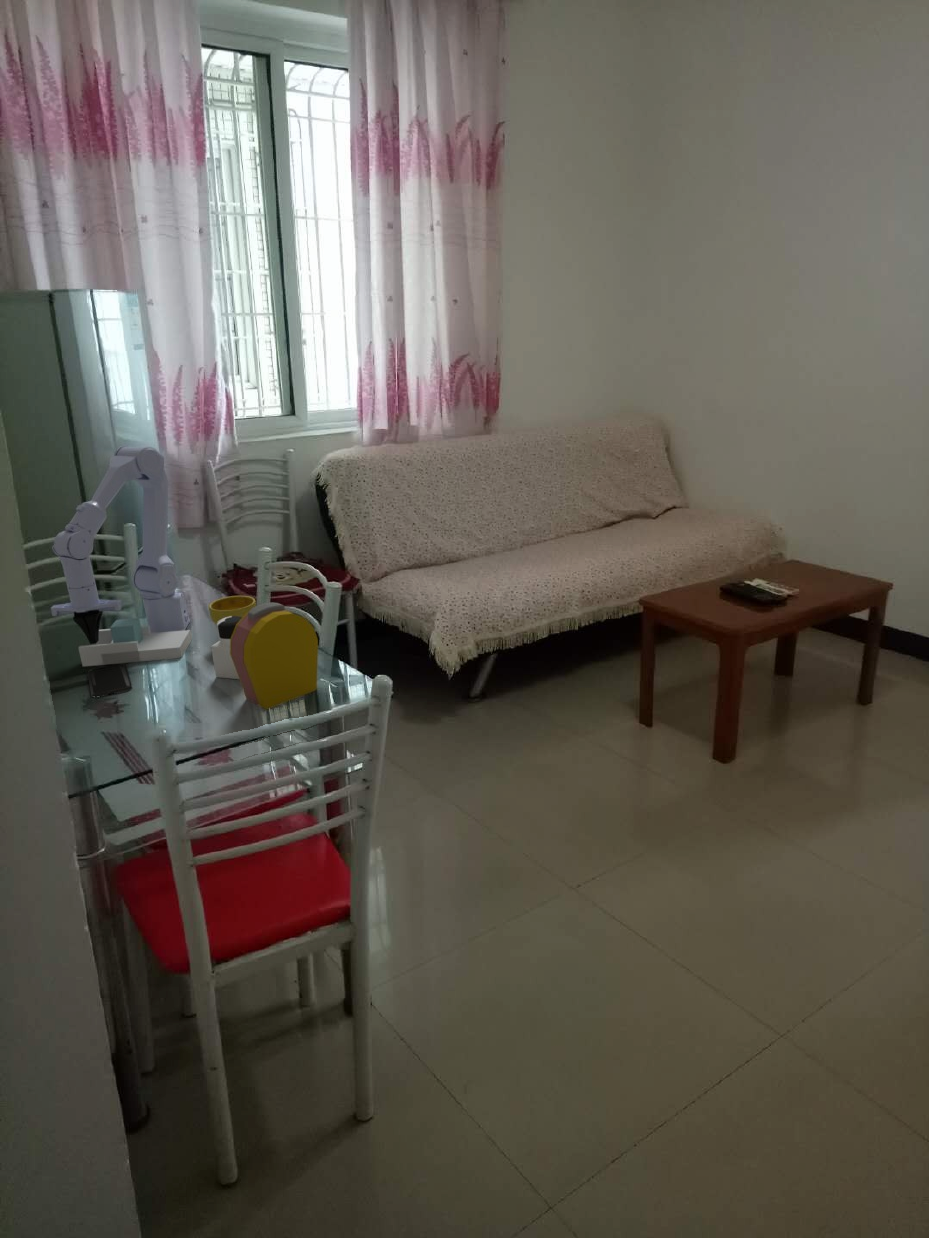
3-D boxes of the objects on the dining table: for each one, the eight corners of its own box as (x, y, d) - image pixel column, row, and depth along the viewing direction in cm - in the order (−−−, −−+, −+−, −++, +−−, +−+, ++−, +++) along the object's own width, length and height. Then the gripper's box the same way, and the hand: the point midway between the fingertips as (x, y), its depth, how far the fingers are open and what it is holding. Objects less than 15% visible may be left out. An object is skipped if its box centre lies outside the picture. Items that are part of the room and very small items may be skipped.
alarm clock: (301, 676, 174) (289, 592, 168) (323, 686, 169) (312, 600, 162) (236, 700, 165) (221, 612, 159) (258, 712, 159) (243, 621, 153)
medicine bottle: (263, 666, 180) (255, 614, 176) (244, 680, 174) (236, 626, 170) (234, 664, 182) (226, 612, 178) (215, 677, 176) (206, 623, 172)
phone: (125, 662, 185) (132, 686, 173) (126, 667, 186) (133, 691, 173) (86, 670, 182) (90, 695, 169) (87, 675, 183) (92, 700, 170)
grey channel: (191, 639, 198) (188, 621, 197) (181, 657, 188) (178, 638, 186) (98, 648, 197) (94, 630, 195) (82, 666, 186) (78, 647, 185)
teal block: (143, 638, 194) (138, 617, 192) (137, 646, 189) (133, 625, 187) (120, 640, 194) (116, 619, 192) (114, 648, 189) (109, 627, 187)
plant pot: (263, 646, 192) (257, 605, 188) (216, 654, 189) (209, 612, 185) (259, 631, 201) (253, 592, 198) (214, 638, 198) (207, 599, 195)
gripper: (40, 593, 182) (55, 651, 186) (109, 587, 183) (122, 645, 187) (52, 583, 188) (66, 640, 193) (119, 578, 189) (130, 634, 194)
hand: (94, 642), depth 190 cm, fingers closed
